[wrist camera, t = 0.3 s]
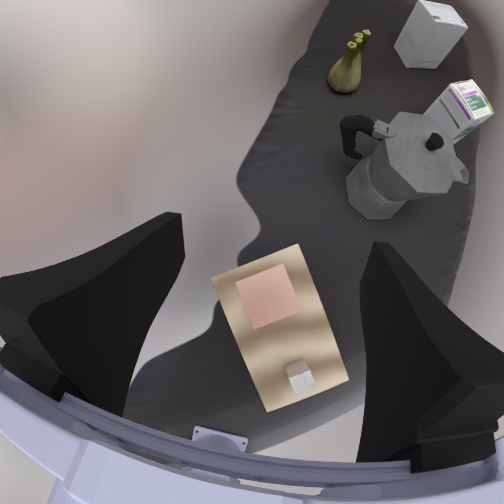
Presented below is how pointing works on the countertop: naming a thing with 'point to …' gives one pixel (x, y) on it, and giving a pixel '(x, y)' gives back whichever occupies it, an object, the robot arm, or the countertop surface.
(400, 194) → the coffeepot
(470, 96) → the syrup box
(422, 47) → the skincare box
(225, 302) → the maple board
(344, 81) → the fennel bulb
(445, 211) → the countertop surface
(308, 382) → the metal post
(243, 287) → the salmon orange cube
